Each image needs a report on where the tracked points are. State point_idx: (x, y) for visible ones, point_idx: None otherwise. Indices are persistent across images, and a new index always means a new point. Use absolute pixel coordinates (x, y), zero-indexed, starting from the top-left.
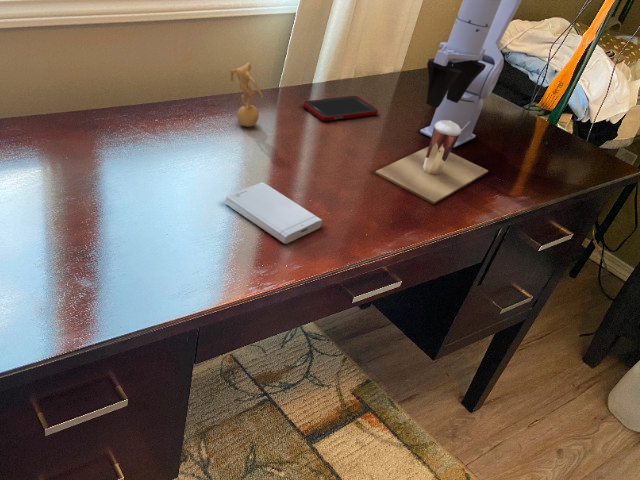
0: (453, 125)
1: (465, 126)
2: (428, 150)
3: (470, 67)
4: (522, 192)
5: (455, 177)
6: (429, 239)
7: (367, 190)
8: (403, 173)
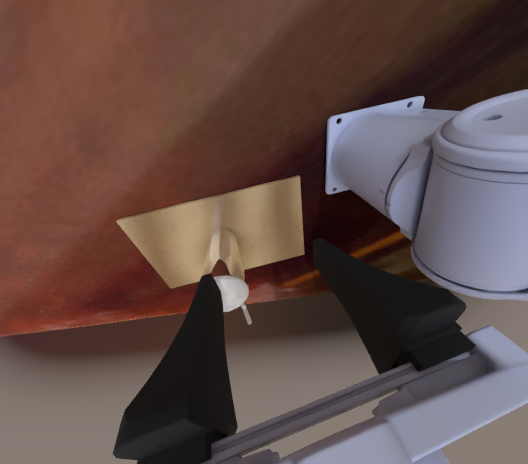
0: (226, 307)
1: (244, 314)
2: (208, 253)
3: (378, 349)
4: (300, 283)
5: (244, 258)
6: (125, 320)
7: (80, 250)
8: (167, 236)
